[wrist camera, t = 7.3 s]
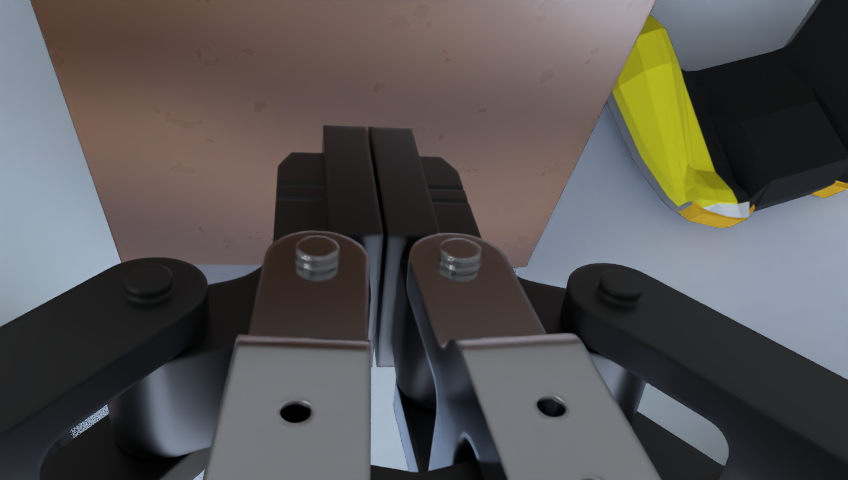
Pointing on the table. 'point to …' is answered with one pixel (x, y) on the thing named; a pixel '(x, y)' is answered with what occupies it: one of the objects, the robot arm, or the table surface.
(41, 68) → the table surface
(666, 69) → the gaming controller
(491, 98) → the lid
